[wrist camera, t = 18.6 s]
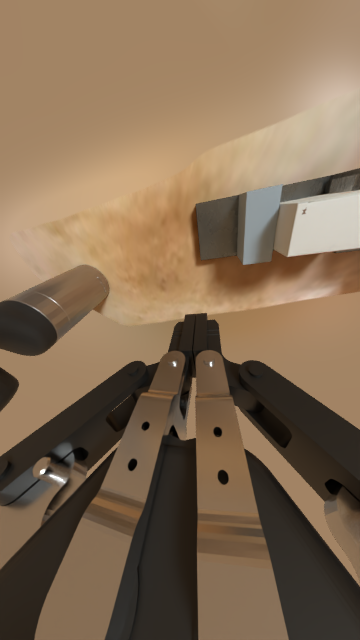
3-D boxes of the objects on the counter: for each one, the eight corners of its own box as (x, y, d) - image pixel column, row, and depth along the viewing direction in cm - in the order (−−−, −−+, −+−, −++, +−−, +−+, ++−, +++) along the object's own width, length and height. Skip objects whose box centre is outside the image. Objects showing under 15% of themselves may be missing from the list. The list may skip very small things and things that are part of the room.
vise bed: (201, 257, 33) (199, 270, 26) (196, 204, 28) (193, 203, 21) (332, 239, 28) (370, 248, 21) (355, 170, 23) (413, 156, 16)
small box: (260, 242, 28) (284, 258, 19) (265, 204, 25) (296, 202, 16) (312, 236, 26) (363, 249, 18) (324, 193, 23) (393, 185, 15)
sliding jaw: (236, 255, 30) (243, 264, 25) (238, 194, 25) (246, 191, 20) (260, 252, 29) (271, 261, 24) (266, 189, 24) (282, 184, 19)
